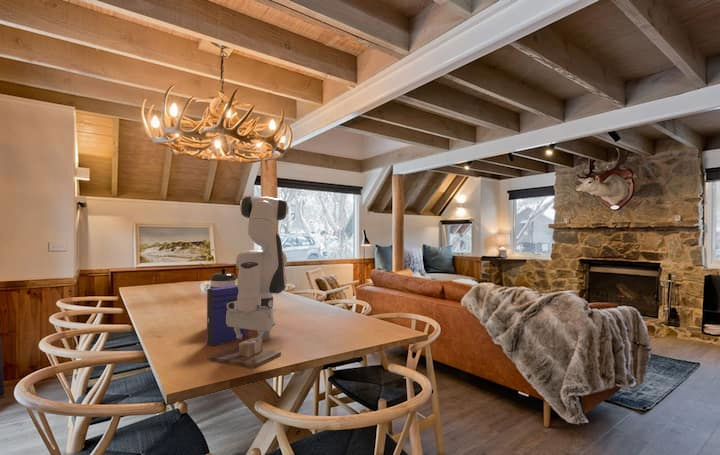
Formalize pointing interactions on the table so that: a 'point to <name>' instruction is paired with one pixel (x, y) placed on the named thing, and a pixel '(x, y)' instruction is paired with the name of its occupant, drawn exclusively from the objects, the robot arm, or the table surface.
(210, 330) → the cereal box
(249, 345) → the birch block
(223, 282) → the coffee press
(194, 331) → the table surface
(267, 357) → the walnut board
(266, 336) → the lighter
